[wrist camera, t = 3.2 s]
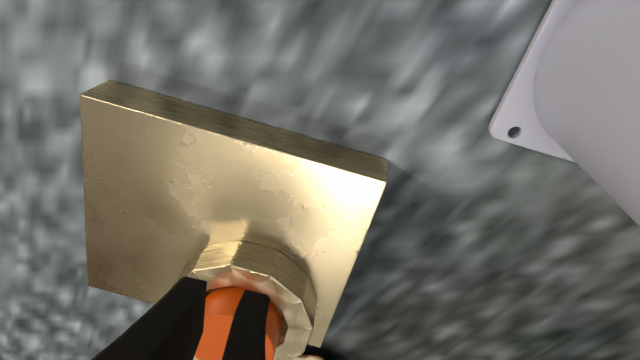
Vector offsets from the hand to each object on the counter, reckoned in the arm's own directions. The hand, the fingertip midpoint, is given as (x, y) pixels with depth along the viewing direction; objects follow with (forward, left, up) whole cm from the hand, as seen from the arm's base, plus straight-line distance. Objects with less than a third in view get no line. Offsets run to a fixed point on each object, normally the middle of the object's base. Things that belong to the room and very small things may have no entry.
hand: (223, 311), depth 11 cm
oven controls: (+2, +4, -9) cm, 10 cm away
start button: (0, +7, -6) cm, 9 cm away
